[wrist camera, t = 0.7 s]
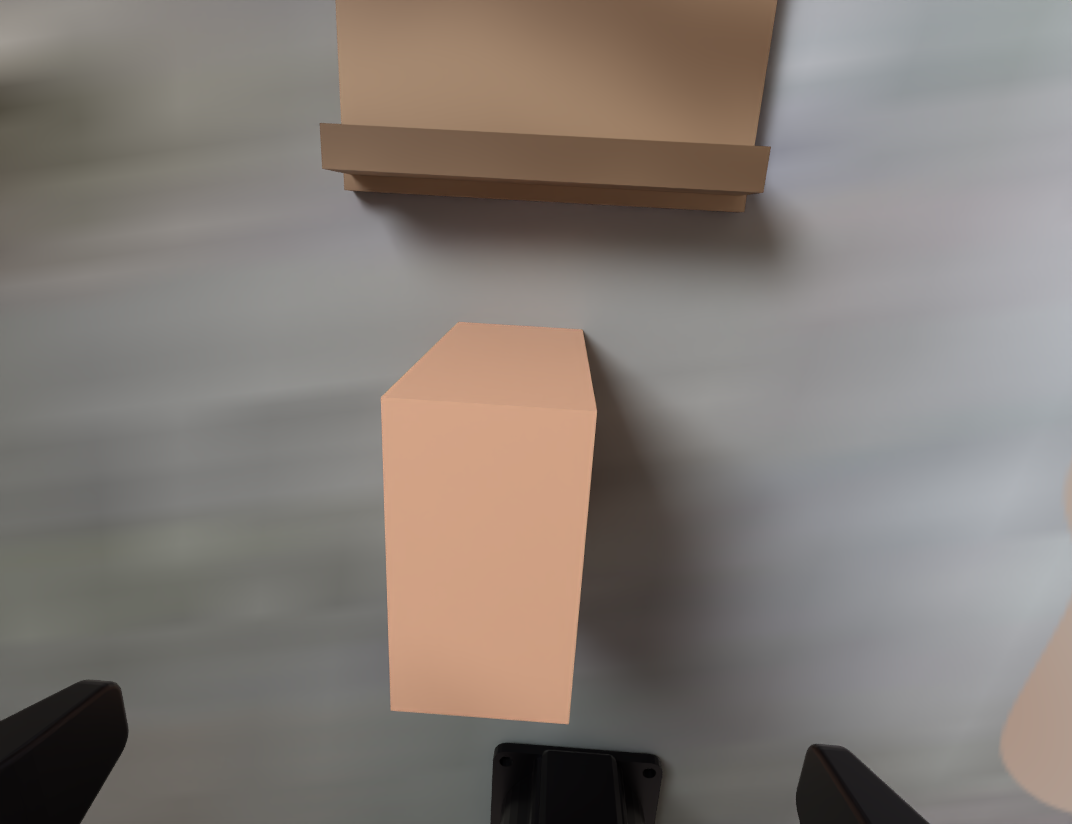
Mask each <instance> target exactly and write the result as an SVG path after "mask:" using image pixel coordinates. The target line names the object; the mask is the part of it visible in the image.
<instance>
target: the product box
mask: <svg viewBox="0 0 1072 824" xmlns="http://www.w3.org/2000/svg"><path fill="white" fill-rule="evenodd" d="M381 414H382V446H383V477H384V509H385V540H386V572H387V603H388V635H389V666H390V698H391V710H392V711H405V712H418V713H430V714H443V715H456V716H469V717H482V718H495V719H508V720H520V721H533V722H546V723H559V724H569V714H570V703H571V692H572V681H573V670H574V659H575V648H576V637H577V626H578V615H579V604H580V593H581V582H582V571H583V560H584V549H585V538H586V527H587V516H588V505H589V494H590V483H591V472H592V461H593V450H594V439H595V428H596V417H597V408H596V402H595V397H594V391H593V386H592V380H591V375H590V369H589V363H588V358H587V352H586V347H585V341H584V335H583V330H580V329H564V328H547V327H531V326H515V325H498V324H482V323H465V322H458V323H457V324H456V325H455V326H454V327H453V328H452V329H451V330H450V331H449V332H448V333H447V334H445V335H444V336H443V337H442V338H441V339H440V340H439V341H438V342H437V343H436V344H435V345H434V346H433V347H432V348H431V349H430V350H429V351H428V352H427V353H426V354H425V355H424V356H423V357H422V358H421V359H420V360H419V361H418V362H417V363H416V364H415V365H414V366H413V367H412V368H411V369H410V370H408V371H407V372H406V373H405V374H404V375H403V376H402V377H401V378H400V379H399V380H398V381H397V382H396V383H395V384H394V385H393V386H392V387H391V388H390V389H389V390H388V391H387V392H386V393H385V394H384V395H383V396H382V397H381Z"/></svg>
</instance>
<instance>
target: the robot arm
mask: <svg viewBox="0 0 1072 824" xmlns="http://www.w3.org/2000/svg"><path fill="white" fill-rule="evenodd" d="M127 738H128V723H127V718H126V713H125V707H124V702H123V696H122V691H121V688H120V687H119V685H118V684H117V683H115V682H112V681H101V680H83V681H80V682H77V683H75V684H73V685H71V686H69V687H67V688H65V689H63V690H61V691H59V692H57V693H55V694H53V695H51V696H49V697H47V698H45V699H43V700H41V701H39V702H37V703H35V704H33V705H31V706H29V707H27V708H25V709H23V710H22V711H20V712H18V713H16V714H14V715H12V716H10V717H8V718H6V719H4V720H2V721H0V824H80V823H81V821H82V820H83V818H84V816H85V815H86V813H87V811H88V810H89V808H90V806H91V804H92V803H93V801H94V799H95V798H96V796H97V794H98V793H99V791H100V789H101V788H102V786H103V784H104V782H105V781H106V779H107V777H108V776H109V774H110V772H111V771H112V769H113V767H114V766H115V764H116V762H117V760H118V759H119V757H120V755H121V754H122V752H123V750H124V747H125V745H126V742H127ZM506 757H509V758H506ZM647 768H651V769H647ZM661 780H662V768H661V762H660V760H659V759H658V757H656V756H654V755H651V754H640V753H628V752H615V751H603V750H590V749H578V748H565V747H553V746H540V745H528V744H515V743H502V744H500V745H498V746H497V747H496V748H495V751H494V757H493V775H492V801H491V824H654V823H655V817H656V811H657V804H658V798H659V792H660V786H661ZM796 805H797V812H798V816H799V820H800V824H929V823H928V822H927V821H926V820H925V819H924V818H923V817H922V816H921V815H920V814H918V813H917V812H916V811H915V810H914V809H913V808H912V807H911V806H910V805H909V804H907V803H906V802H905V801H904V800H903V799H902V798H901V797H900V796H899V795H898V794H896V793H895V792H894V791H893V790H892V789H891V788H890V787H889V786H888V785H887V784H885V783H884V782H883V781H882V780H881V779H880V778H879V777H878V776H877V775H876V774H875V773H873V772H872V771H871V770H870V769H869V768H868V767H867V766H866V765H865V764H864V763H862V762H861V761H860V760H859V759H858V758H857V757H856V756H855V755H854V754H853V753H851V752H850V751H849V750H847V749H846V748H844V747H841V746H835V745H824V744H813V745H811V746H810V747H809V748H808V750H807V753H806V756H805V760H804V764H803V768H802V772H801V775H800V779H799V783H798V787H797V792H796Z"/></svg>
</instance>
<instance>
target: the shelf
mask: <svg viewBox="0 0 1072 824" xmlns="http://www.w3.org/2000/svg"><path fill="white" fill-rule="evenodd" d="M776 6H777V0H336V20H337V42H338V63H339V84H340V105H341V124H328V123H320V136H321V154H322V169H327V170H331V171H336V172H341V173H344V190H350V191H365V192H383V193H401V194H419V195H437V196H455V197H473V198H491V199H509V200H527V201H545V202H563V203H581V204H599V205H617V206H635V207H653V208H671V209H689V210H707V211H725V212H744V210H745V203H746V197H747V195H750V194H757V193H763V191H764V185H765V179H766V173H767V167H768V161H769V155H770V149H771V147H767V146H755V140H756V134H757V127H758V121H759V114H760V108H761V102H762V95H763V89H764V83H765V76H766V70H767V64H768V57H769V51H770V45H771V38H772V32H773V25H774V19H775V13H776Z"/></svg>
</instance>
